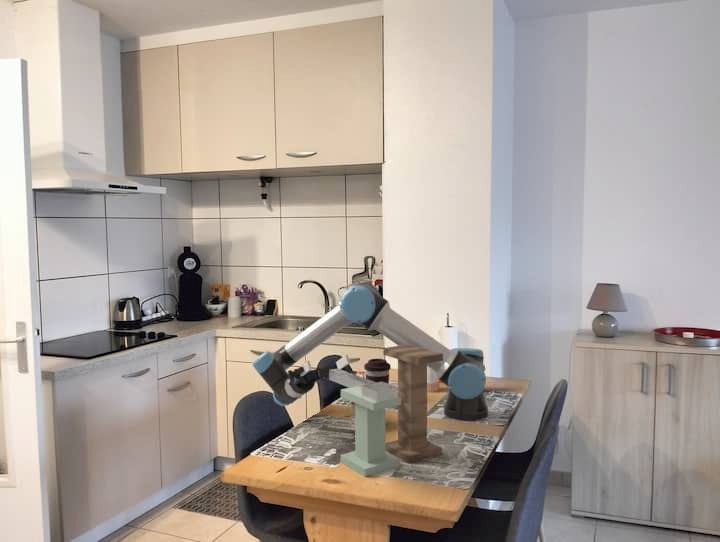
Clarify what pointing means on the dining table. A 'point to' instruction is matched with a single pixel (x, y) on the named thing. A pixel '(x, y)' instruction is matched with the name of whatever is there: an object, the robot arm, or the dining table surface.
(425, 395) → the tall stand
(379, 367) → the coffee cup
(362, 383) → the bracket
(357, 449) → the low stand
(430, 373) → the pepper shaker
